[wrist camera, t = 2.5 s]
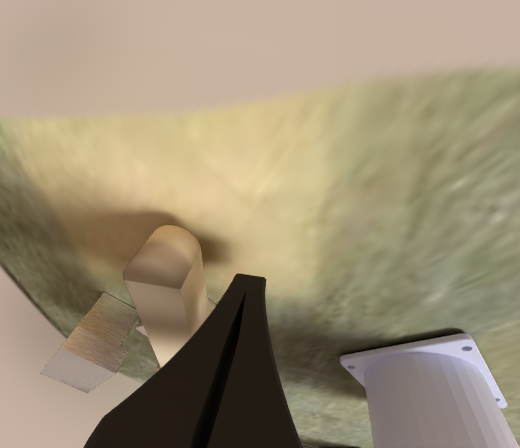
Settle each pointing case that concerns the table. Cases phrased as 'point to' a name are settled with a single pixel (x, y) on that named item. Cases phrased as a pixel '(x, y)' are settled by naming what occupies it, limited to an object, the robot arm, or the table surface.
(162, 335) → the link
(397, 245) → the table surface
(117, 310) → the block
